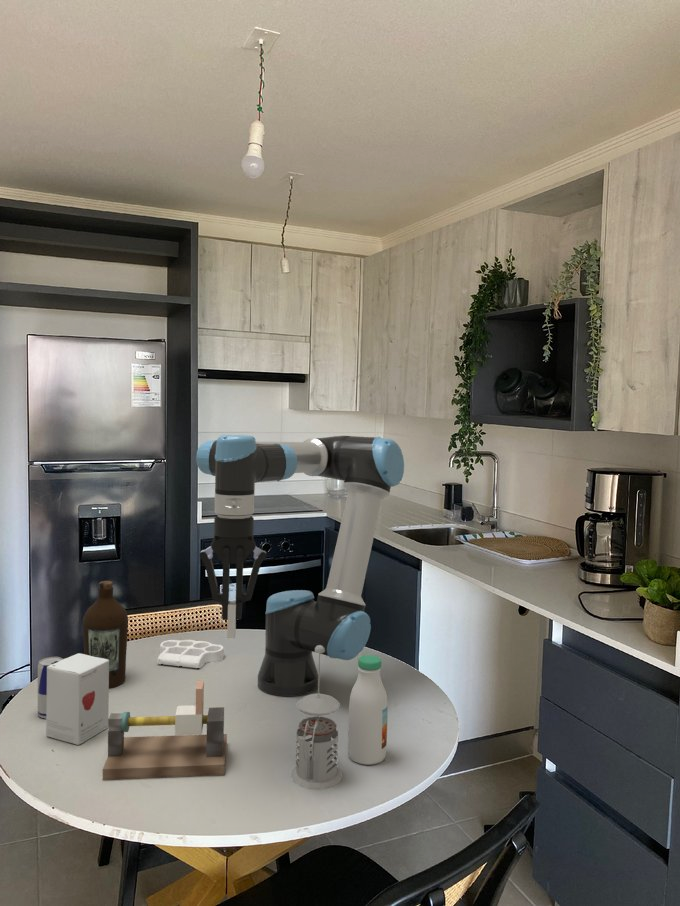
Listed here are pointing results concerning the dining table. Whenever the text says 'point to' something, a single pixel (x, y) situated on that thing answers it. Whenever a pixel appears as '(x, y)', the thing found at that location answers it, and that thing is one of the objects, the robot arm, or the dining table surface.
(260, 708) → the dining table surface
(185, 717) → the cube with tan panel
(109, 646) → the olive oil
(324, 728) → the french press
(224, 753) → the axle on two posts
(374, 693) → the milk bottle
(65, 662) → the supplement box
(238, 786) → the dining table surface
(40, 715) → the energy drink
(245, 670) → the dining table surface
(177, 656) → the white brass knuckles
